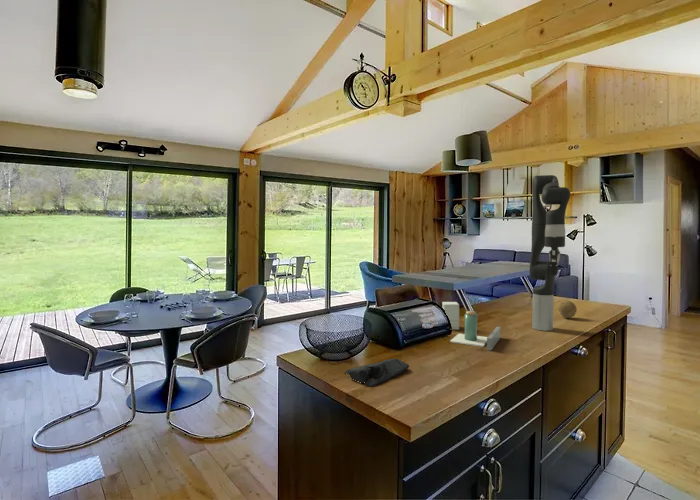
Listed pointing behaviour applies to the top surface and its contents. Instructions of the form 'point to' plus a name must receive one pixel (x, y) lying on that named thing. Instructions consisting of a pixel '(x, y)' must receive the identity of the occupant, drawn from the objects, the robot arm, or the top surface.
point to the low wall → (493, 338)
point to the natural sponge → (567, 309)
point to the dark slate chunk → (377, 371)
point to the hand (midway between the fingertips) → (554, 274)
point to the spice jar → (471, 326)
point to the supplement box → (452, 313)
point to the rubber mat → (461, 340)
